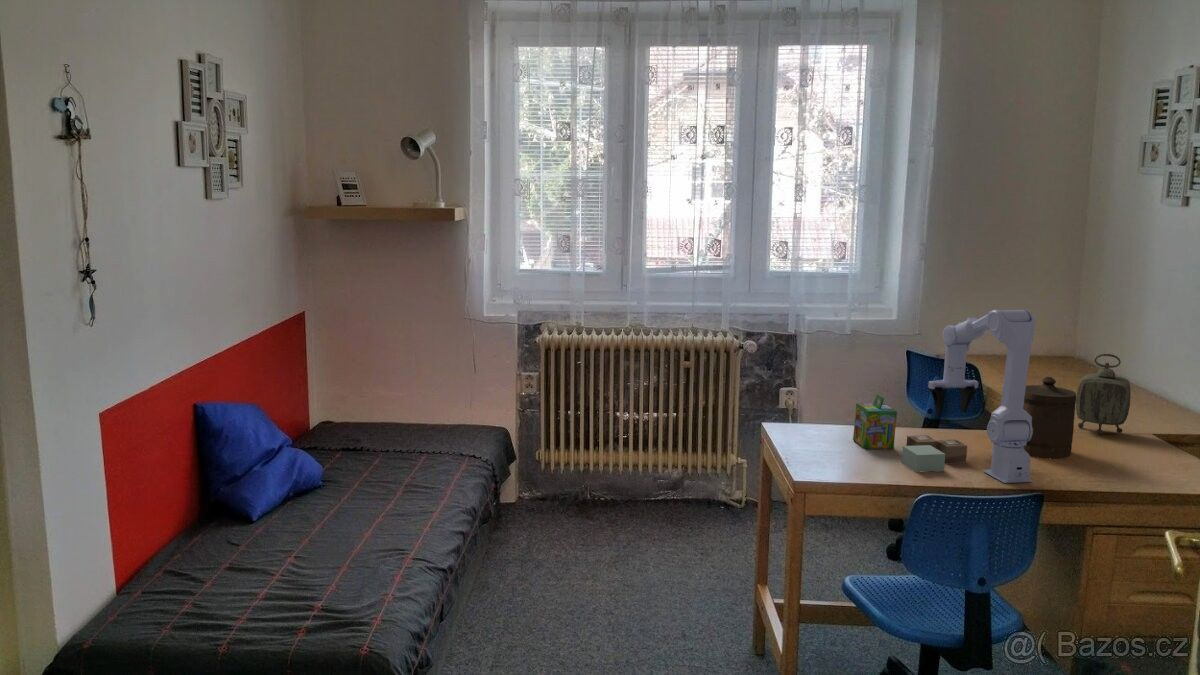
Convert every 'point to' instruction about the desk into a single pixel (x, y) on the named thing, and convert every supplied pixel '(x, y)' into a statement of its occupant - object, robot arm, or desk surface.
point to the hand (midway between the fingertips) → (950, 412)
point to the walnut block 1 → (921, 441)
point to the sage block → (923, 458)
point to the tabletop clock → (1103, 397)
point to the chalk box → (875, 425)
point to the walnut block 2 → (953, 450)
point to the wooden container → (1050, 419)
